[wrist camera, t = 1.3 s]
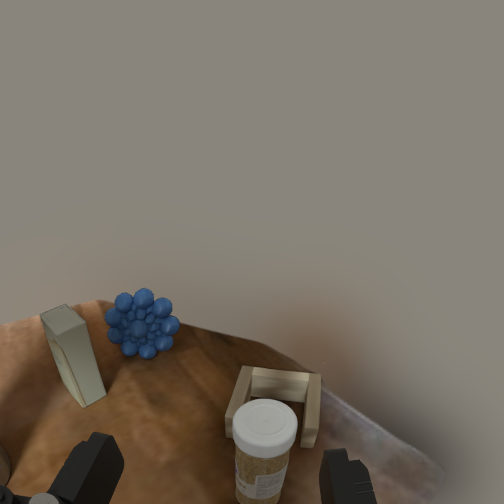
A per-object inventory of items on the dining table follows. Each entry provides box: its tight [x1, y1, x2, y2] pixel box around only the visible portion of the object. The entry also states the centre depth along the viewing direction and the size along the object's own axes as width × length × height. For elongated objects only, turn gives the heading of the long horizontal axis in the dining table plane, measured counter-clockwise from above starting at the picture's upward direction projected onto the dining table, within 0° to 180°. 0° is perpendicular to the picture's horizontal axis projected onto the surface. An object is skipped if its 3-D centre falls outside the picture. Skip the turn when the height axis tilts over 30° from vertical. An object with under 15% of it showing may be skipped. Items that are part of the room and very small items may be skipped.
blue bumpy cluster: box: [105, 288, 180, 359], centre depth 43 cm, size 12×7×12 cm, turn 92°
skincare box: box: [40, 304, 107, 408], centre depth 34 cm, size 6×4×12 cm
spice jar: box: [232, 399, 298, 504], centre depth 22 cm, size 5×5×13 cm
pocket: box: [225, 365, 321, 448], centre depth 34 cm, size 10×9×4 cm
